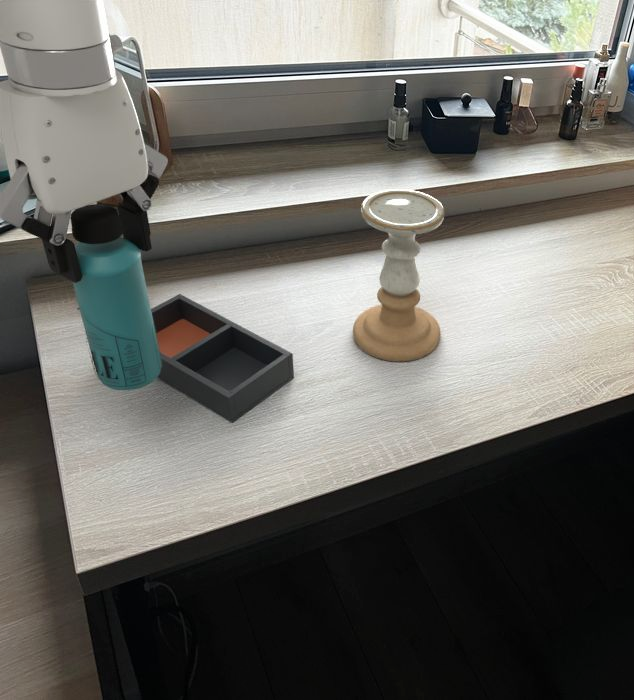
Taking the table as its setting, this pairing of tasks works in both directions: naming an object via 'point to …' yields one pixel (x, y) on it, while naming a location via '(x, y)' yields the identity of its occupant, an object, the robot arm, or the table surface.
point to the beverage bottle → (114, 301)
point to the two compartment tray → (217, 358)
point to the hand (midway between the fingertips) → (104, 259)
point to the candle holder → (399, 278)
